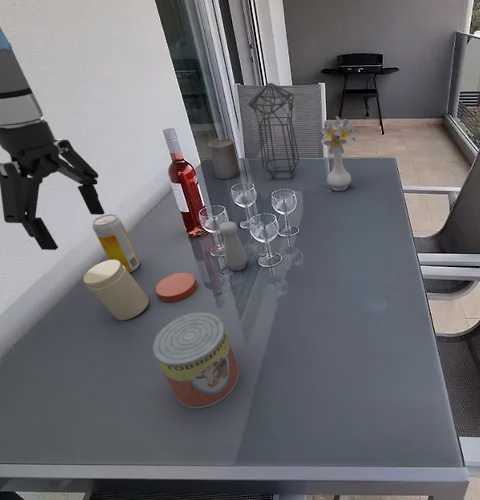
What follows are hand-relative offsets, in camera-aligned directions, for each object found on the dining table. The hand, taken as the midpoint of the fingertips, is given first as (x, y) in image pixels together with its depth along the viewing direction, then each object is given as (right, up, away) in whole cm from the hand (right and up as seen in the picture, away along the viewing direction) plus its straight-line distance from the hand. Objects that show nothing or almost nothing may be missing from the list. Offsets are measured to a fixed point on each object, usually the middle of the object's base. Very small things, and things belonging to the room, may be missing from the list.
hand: (76, 230), depth 71 cm
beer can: (-4, -9, +23) cm, 25 cm away
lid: (+13, -13, +14) cm, 23 cm away
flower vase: (+52, +19, +62) cm, 83 cm away
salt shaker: (+26, -9, +22) cm, 35 cm away
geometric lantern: (+28, +27, +74) cm, 83 cm away
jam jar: (+5, -17, +9) cm, 20 cm away
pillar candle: (+5, +27, +75) cm, 80 cm away
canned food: (+30, -28, -6) cm, 41 cm away
